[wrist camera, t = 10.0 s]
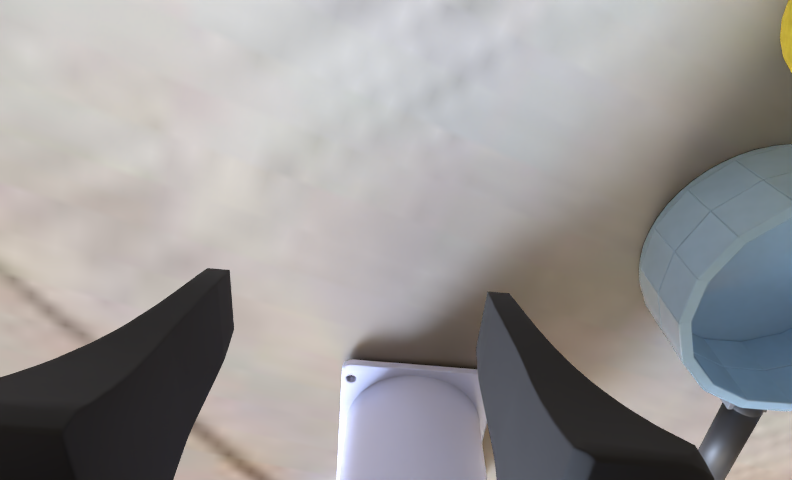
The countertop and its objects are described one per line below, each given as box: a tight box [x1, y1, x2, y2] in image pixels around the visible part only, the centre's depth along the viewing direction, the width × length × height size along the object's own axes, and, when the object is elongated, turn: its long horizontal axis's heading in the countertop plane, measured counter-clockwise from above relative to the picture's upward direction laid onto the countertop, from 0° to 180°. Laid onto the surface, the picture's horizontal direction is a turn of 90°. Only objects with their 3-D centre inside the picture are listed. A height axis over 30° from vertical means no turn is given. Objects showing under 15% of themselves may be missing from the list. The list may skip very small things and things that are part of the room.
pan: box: [639, 144, 792, 411], centre depth 23 cm, size 10×10×4 cm
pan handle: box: [698, 398, 767, 480], centre depth 26 cm, size 7×2×2 cm, turn 175°
